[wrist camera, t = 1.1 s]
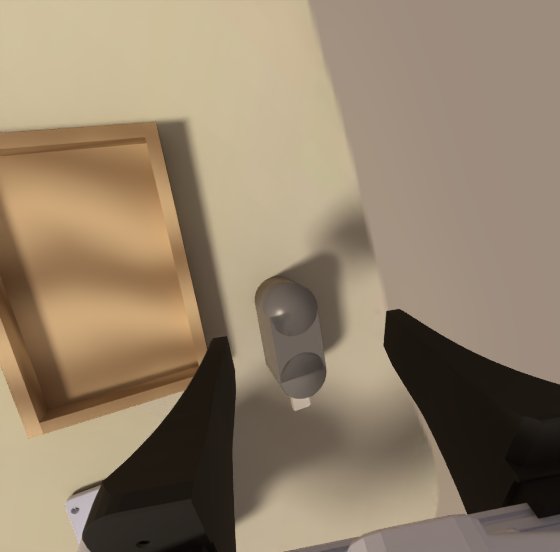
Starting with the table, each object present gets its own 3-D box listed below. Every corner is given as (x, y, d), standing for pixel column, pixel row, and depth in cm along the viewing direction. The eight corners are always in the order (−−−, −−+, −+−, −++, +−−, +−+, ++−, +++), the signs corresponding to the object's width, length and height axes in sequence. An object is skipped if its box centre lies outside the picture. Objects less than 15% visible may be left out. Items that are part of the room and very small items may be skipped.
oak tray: (211, 369, 24) (214, 380, 23) (41, 419, 21) (28, 438, 19) (157, 131, 21) (155, 122, 19) (-59, 148, 17) (-87, 139, 16)
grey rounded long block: (311, 387, 28) (332, 412, 24) (273, 400, 27) (289, 429, 23) (293, 272, 25) (313, 280, 22) (251, 282, 24) (264, 292, 21)
